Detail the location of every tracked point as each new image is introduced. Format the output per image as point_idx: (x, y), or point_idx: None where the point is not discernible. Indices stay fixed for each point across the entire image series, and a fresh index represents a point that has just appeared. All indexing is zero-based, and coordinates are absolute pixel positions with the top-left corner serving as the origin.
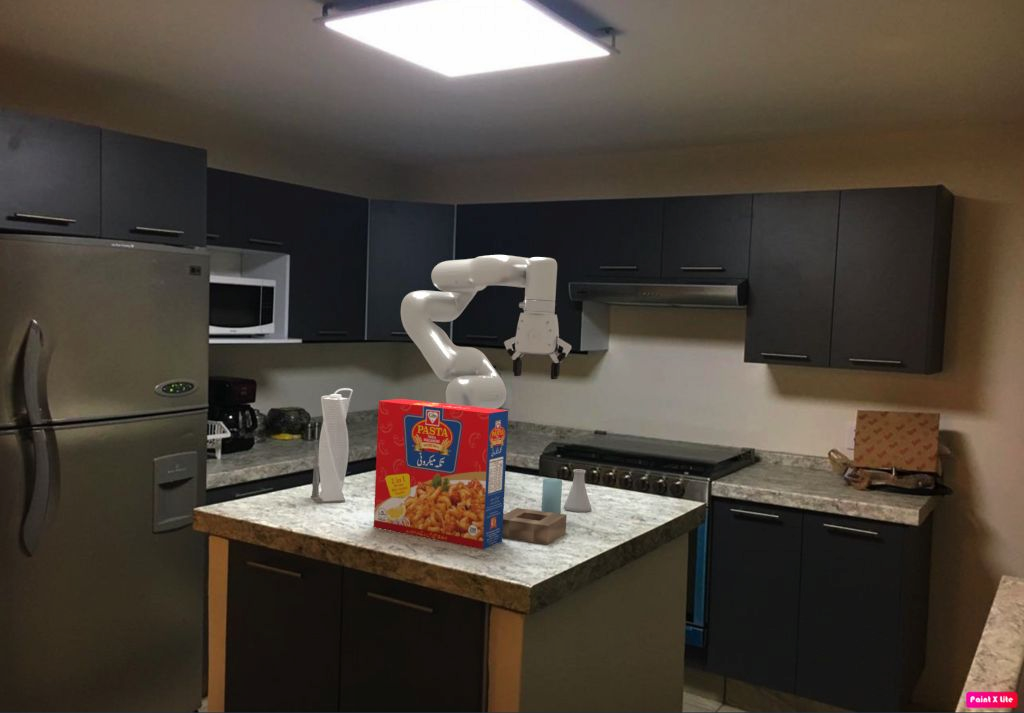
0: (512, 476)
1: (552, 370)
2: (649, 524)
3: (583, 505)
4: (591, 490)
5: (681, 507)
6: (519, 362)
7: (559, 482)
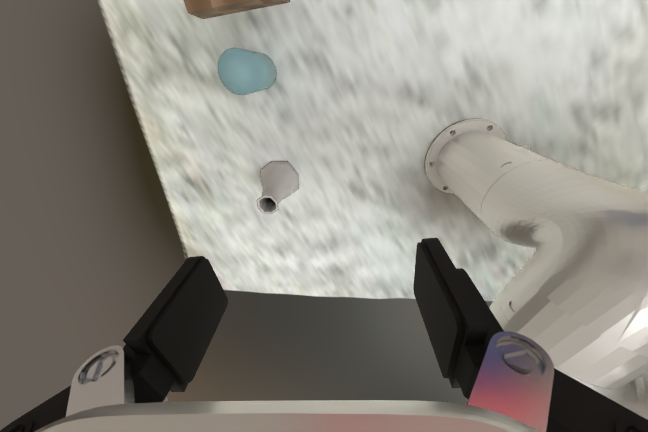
0: None
1: (167, 291)
2: (167, 164)
3: (263, 172)
4: (322, 277)
5: None
6: (445, 338)
7: (218, 65)
